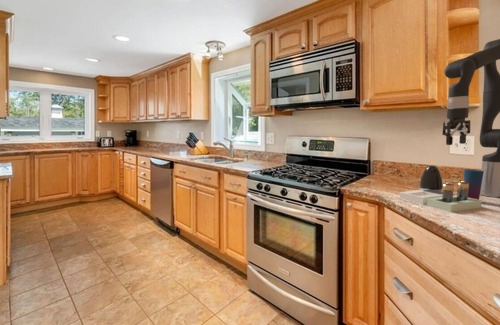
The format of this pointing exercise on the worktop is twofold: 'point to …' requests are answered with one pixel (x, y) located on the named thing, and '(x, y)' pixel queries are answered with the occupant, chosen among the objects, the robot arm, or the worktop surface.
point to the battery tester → (420, 195)
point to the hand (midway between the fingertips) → (455, 144)
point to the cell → (447, 192)
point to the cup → (473, 182)
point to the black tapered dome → (431, 179)
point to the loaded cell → (462, 191)
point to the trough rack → (454, 204)
